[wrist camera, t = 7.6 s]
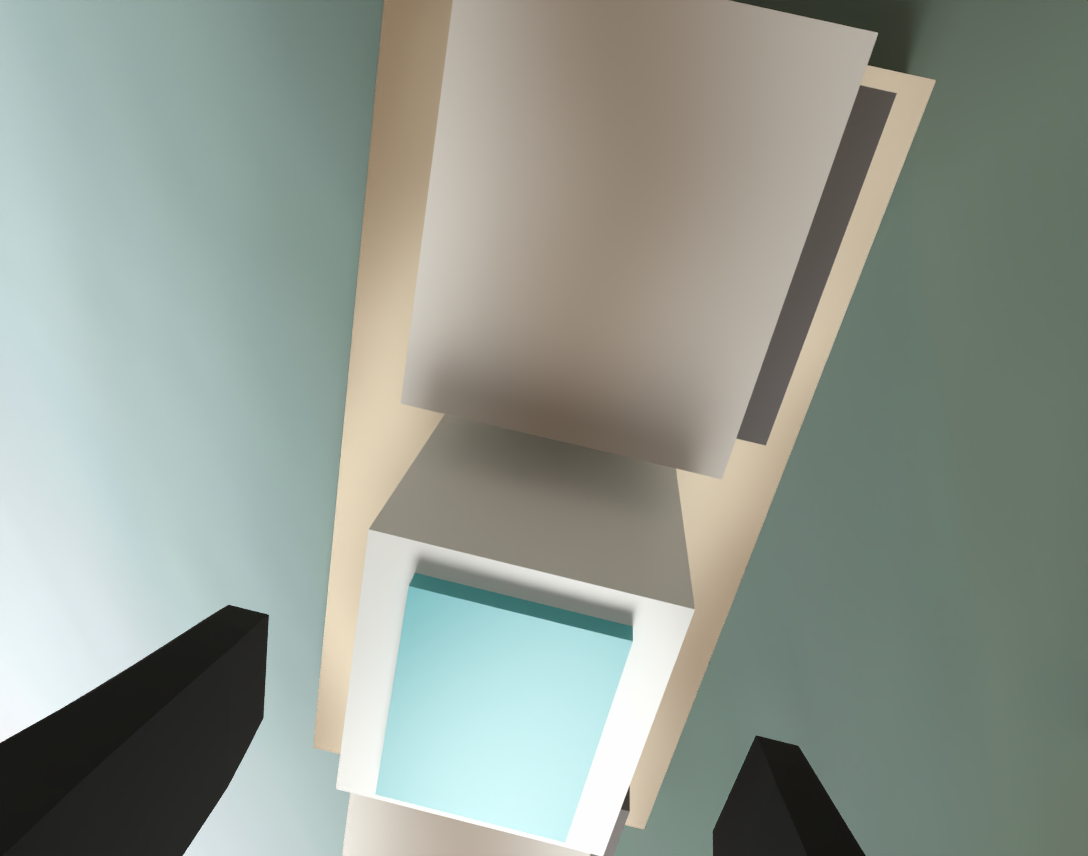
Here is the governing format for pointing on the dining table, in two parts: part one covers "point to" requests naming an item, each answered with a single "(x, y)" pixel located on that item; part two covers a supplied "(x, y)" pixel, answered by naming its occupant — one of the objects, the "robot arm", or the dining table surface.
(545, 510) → the block
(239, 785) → the dining table surface
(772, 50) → the board
